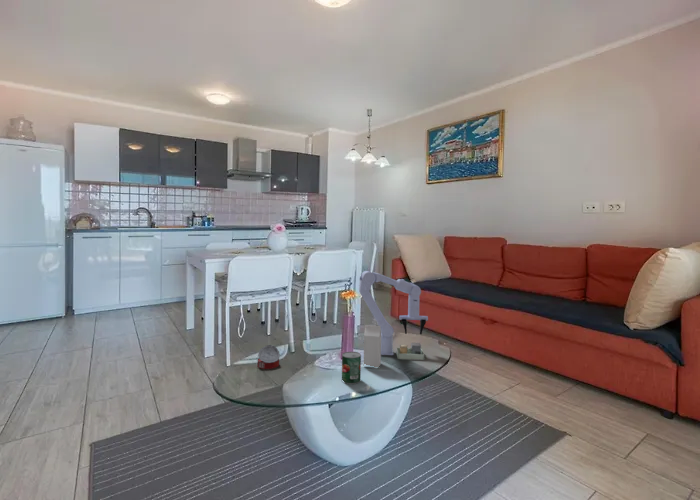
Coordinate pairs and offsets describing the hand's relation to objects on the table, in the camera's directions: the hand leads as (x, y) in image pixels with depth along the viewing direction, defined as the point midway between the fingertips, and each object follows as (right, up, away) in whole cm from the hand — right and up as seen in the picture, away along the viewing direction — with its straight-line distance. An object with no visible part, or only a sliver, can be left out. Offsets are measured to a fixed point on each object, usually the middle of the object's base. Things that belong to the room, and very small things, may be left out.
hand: (413, 333), depth 191 cm
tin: (0, -10, -7) cm, 12 cm away
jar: (-6, -10, -7) cm, 13 cm away
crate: (-3, -10, -7) cm, 12 cm away
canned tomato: (-32, -11, -38) cm, 51 cm away
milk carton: (-23, -11, -21) cm, 32 cm away
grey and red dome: (-71, -10, -21) cm, 75 cm away
